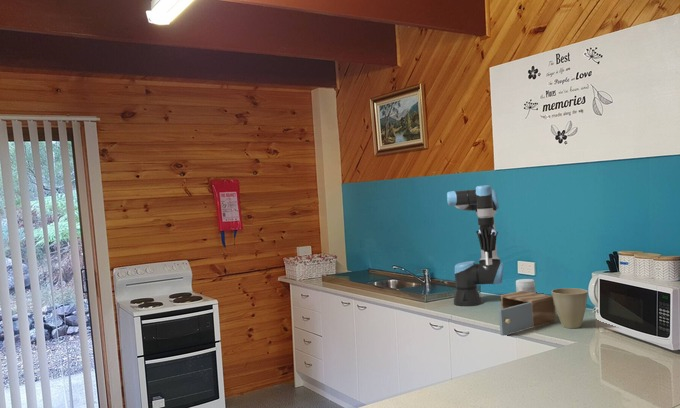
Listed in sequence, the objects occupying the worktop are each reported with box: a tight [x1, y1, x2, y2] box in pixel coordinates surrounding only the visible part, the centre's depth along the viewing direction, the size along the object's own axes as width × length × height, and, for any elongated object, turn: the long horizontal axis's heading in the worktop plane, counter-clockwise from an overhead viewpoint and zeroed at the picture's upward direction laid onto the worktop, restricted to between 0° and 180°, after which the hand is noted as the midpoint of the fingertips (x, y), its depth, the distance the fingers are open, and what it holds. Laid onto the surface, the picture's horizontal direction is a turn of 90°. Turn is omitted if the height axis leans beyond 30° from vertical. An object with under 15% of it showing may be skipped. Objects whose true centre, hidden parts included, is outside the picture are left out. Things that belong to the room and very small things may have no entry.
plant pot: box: [551, 287, 589, 329], centre depth 239 cm, size 15×15×16 cm
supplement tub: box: [515, 278, 537, 293], centre depth 279 cm, size 10×10×15 cm
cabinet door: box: [498, 302, 534, 336], centre depth 236 cm, size 20×3×11 cm, turn 121°
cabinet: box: [500, 291, 557, 328], centre depth 254 cm, size 20×14×12 cm
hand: (489, 264), depth 263 cm, fingers closed
